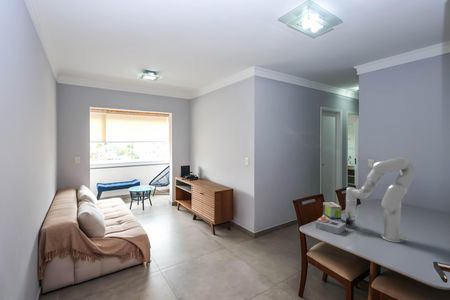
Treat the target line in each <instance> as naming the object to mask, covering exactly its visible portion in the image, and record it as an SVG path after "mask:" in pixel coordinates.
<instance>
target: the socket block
mask: <svg viewBox="0 0 450 300" xmlns="http://www.w3.org/2000/svg"><path fill="white" fill-rule="evenodd" d="M315 228H316V229H318V228H319V229H318V230H321V229H322V231H325V230H326V232H328V231H329V232H328V233H333V234H335V233H336V234H335V235H340V234H342V233H343V232H344V231H345V230H346V228H347V227H346V222H342V221H341V222H338V221H334V220H329V221H328V222H326V223H325V222H322V221H318V220H316V221H315Z"/></svg>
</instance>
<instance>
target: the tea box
mask: <svg viewBox="0 0 450 300" xmlns="http://www.w3.org/2000/svg"><path fill="white" fill-rule="evenodd" d="M324 215H325V216H326V219H330V220H334V221H338V222H342V206H341V205H340V204H337V203H336V202H334V201H325V202H324V201H323V202H322V216H324Z"/></svg>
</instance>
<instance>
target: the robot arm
mask: <svg viewBox="0 0 450 300" xmlns="http://www.w3.org/2000/svg"><path fill="white" fill-rule="evenodd" d="M393 172H398V173H397V175H396V177H395V179H394V181H393V183H392V184H390V185H389V186H388V188H387V189H386V192H385V193H384V196H383V198H382V199H381V204H380V205H381V207H382V209H383V233H382V234H380V237H381V239H383V240H385V241H387V242H391V243H402V242H403V241H406V242H408V240H409V239H408V237H407V236H403V235H402V233H401V215H402V213H401V212H402V200H403V199H404V196H405V195H406V194H407V192H408V190H409V187H410V185H411V183H412V180H413V179H414V176H415V173H416V169H415V165H414V163H413V162H412V160H410V159H409V158H407V157H404V156H399V157H395V158H390V159H386V160H380V161H376V162H375V163H373V165H372V169H371V170H370V172H369V173H368V174H367V176H366V181H365V182H364V184H363V185H362V186H361V188H359V189H357V187H352V186H348V187H346V191H345V192H346V193H345V211H344V216H345V223H346V225H351V220H350V219H351V218H352V217H355V218H356V206H357V199H358V200H364V199H366V198H368V197H369V196H370V195H371V194H372V192H374V190H375V189H376V187H378V186H377V185H378V184H379V183H380V182H381V180H382V179H383V178H384V177H385V175H386V174H387V173H393ZM348 217H349V218H348Z"/></svg>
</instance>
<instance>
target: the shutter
mask: <svg viewBox="0 0 450 300" xmlns="http://www.w3.org/2000/svg"><path fill="white" fill-rule="evenodd" d="M329 220H330V219H326V216H325V215H324V216H323V215H322V216H321V217H319V218H318V219H317V220H316V221H322V222H325V223H326V222H328V221H329Z"/></svg>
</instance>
